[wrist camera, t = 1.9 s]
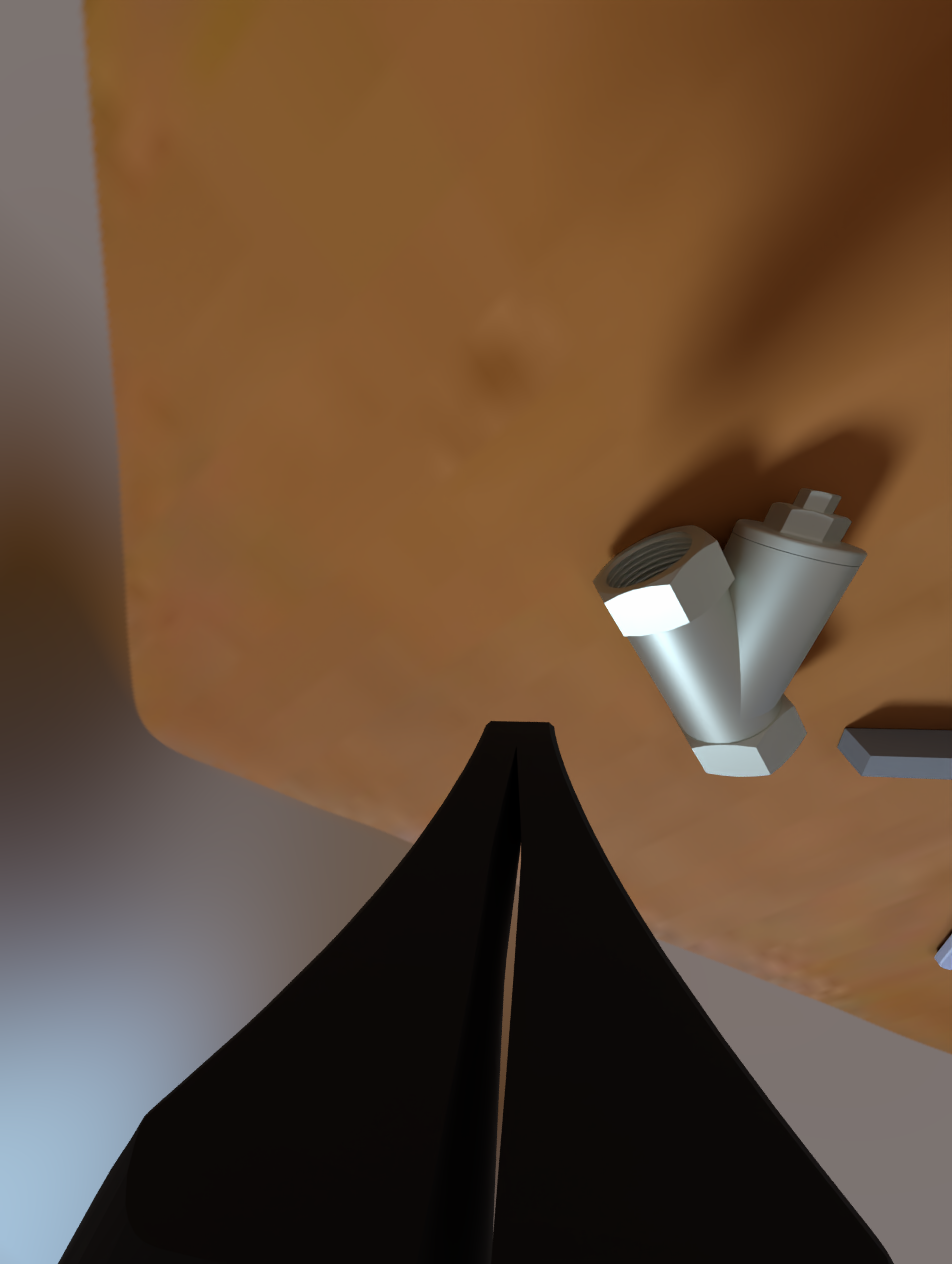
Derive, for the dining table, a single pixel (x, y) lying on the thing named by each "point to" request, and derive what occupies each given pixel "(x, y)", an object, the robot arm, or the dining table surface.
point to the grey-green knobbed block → (899, 752)
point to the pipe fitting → (734, 623)
